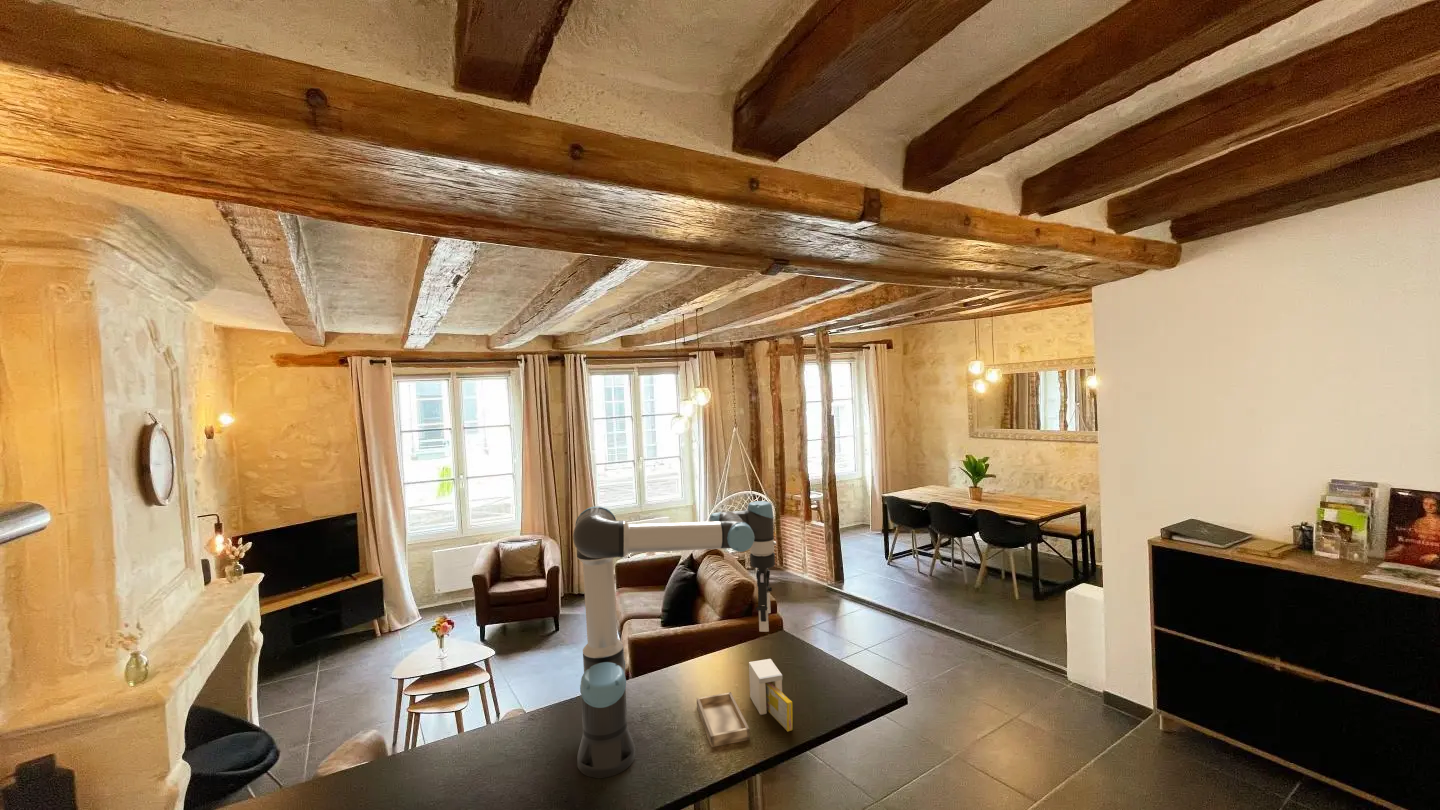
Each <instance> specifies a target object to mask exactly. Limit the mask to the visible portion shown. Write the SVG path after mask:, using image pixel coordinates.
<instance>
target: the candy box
mask: <svg viewBox="0 0 1440 810" xmlns="http://www.w3.org/2000/svg"><path fill="white" fill-rule="evenodd" d="M765 686H766V712H768V713H769V714H770V715H771V716H772V717H773V718H774V720H776V722H778V723H779V725H780V726H782V727H783V728H784V730H786V732H789V733H790V732H791V731H793V723H794V722H793V709H794V708H793V705H794V704H793V701H792V700H791V699H790V698H788V696H786V694H784V693H783V691H782V692H781V691H780V690H779V689H778V688H777V687H775V686H774V685H773V684H772V683H771V682H767V683H765Z"/></svg>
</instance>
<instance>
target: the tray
mask: <svg viewBox="0 0 1440 810" xmlns="http://www.w3.org/2000/svg"><path fill="white" fill-rule="evenodd" d="M696 709H697V712H698V715H699V717H700V720H701V722H702V725H703V728H704V730H705V733H706V737H707V739H708V741H709V744H710V747H711V748H715V747H720V746H724V745H725V746H726V745H729V744H734V743H735V744H736V743H740V742H744V741H745V742H747V741H749V740H751V735H750V733H751V732H750V731H751V729H750V727H749V725H748V723H747V721H746V719H745V717H744V715H743V714H742V712H741V709H740V707H739V705H738V704H737V701H736V699H735V698H734V695H733V693H732V692H731V691H728V692H725V693H718V694H713V695H706V696H700V697H696Z"/></svg>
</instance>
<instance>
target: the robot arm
mask: <svg viewBox="0 0 1440 810" xmlns="http://www.w3.org/2000/svg"><path fill="white" fill-rule="evenodd" d="M774 532H775V531H774V510H773V506H772V503H771V502H769V501H764V500H757V501H756V500H755V501H751V502H749V503H748V504H747V509H743V510H731V511H718V512H712V513H711V514H710V515H709V519H708V521H687V522H685V521H684V522H683V521H682V522H681V521H680V522H656V523H652V522H651V523H630V524H629V523H628V522H627V521H626V520H617V519H616V516H615V514H614V513H613V512H612V511H611V510H610V509H608V508H607V507H603V506H598V505H596V506H591V507H588V508H586V509H585V510H583V511H582V512H581V513H580V514H579V516H577V518H576V521H575V527H574V529H573V533H572V542H573V544H574V546H575V548H576V559H578V560H579V561H580V562H582V573H583V587H584V589H583V590H584V605H585V621H586V622H585V623H586V637H587V638H586V639H587V644H585V646H584V647H583V648H582V660H583V661H582V663H583V673H582V676H581V679H580V685H579V691H580V695H581V696H580V697H581V699H580V700H581V719H582V722H581V723H582V737H581V741H580V744H579V747H578V752H577V755H576V757H577V759H576V761H577V768H578V771H579V772H581V774H583V775H584V776H586V777H589V778H595V779H602V778H604V779H605V778H609V777H614V776H616V775H618V774H620V773H622V772H624V771H625V770H627V769H628V768H629V767H631V765H632V764H633V763H634V760H635V758H636V745H635V742H634V739H633V737H632V734H631V732H630V730H629V727H628V710H627V693H626V692H627V691H626V690H627V689H626V688H627V679H626V661H625V660H626V659H625V650H624V643H623V641H621V640H620V639H619V638H618V622H617V621H618V620H617V606H616V605H617V604H616V590H615V587H616V586H615V571H614V559H615V558H626V556H627V555H628V554H635V553H637V554H638V553H656V552H657V553H658V552H677V551H700V550H702V551H703V550H722V549H723V550H726V549H731V550H733V551H736V552H739V553H742V552H746V551H748V550H749V552H750V555H749V556H750V557H749V558H750V559H749V561H750V566H751V567H752V568H755V569H758V570H756V576H755V577H756V586H757V604H758V605H757V606H758V607H757V606H756V607H755V608H756V609H755V610H756V611H758V628H759V629H758V630H759V632H762V633H763V632H765V633H767V632H768V633H769V632H770V628H769V626H770V625H769V614H771V613H772V612H771V592H772V591H773V589H772V587H770V586H771V583H770V578H771V570H770V569H771V568H773V567H775V566H776V565H775V564H776V555H775V553H774V552H775V545H777V542H776V541H775V535H774Z"/></svg>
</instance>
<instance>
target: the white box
mask: <svg viewBox="0 0 1440 810" xmlns="http://www.w3.org/2000/svg"><path fill="white" fill-rule="evenodd" d="M748 672H749V673H748V674H749V676H748V677H749V696H750V697H749V698H750V699H751V701H752V703H753V705H754V706H755V708H756V709H757V712H758V713H759V715H760V716H762V715H766V714H767V712H768V711H767V710H766V686H765V683H767V682H771V683H772V684H773V685H774V686H775V687H777V688H778V689H779V690H780V691H781V692H782V693H783V680H784V679H783V674H782V673H781V671H780V670H779V669H778V667H777V666H776V664H775V663H774V662H773V659H771V658H767V659H766V658H765V659H761V660H754V661H749V662H748Z"/></svg>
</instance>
